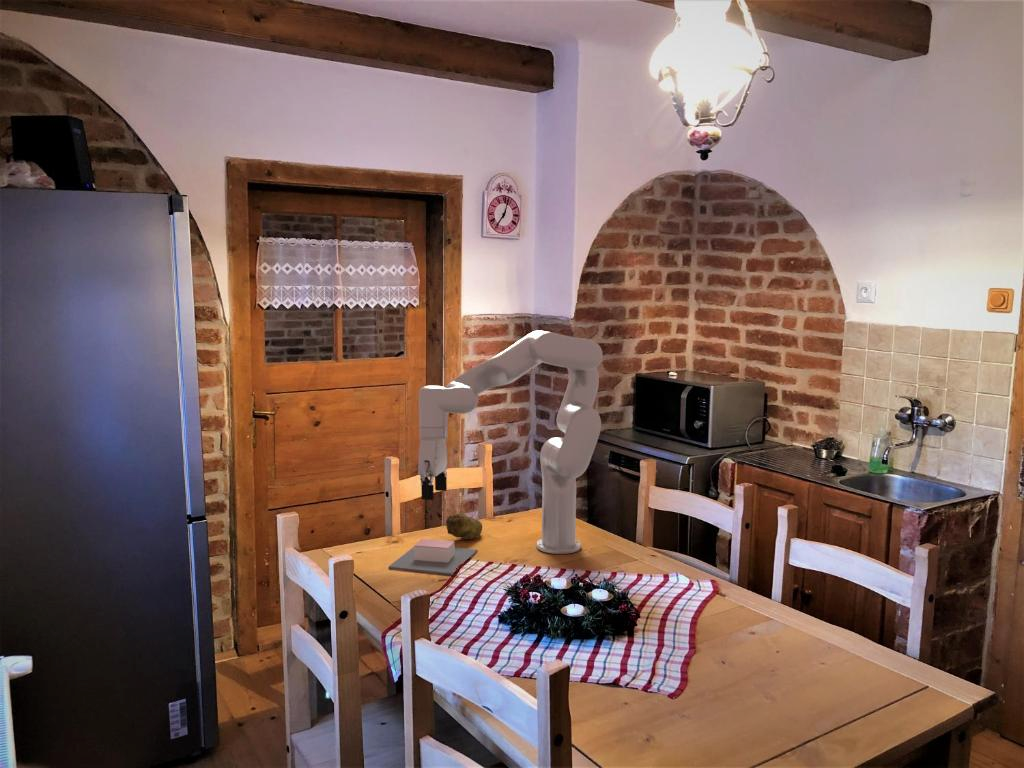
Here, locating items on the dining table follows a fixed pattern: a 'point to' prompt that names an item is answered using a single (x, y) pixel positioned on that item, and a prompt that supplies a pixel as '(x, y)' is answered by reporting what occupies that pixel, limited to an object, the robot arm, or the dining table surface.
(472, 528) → the olive green lumpy rock
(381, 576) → the dining table surface
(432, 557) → the card box
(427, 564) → the mat
